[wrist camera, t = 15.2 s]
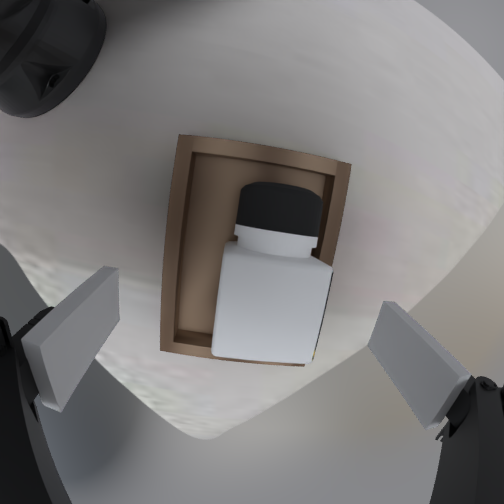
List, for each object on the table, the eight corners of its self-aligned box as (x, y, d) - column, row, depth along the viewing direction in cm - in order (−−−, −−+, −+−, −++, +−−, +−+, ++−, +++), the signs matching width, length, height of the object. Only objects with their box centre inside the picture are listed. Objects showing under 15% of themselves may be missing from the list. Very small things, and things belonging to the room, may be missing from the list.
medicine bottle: (313, 365, 18) (348, 191, 17) (210, 357, 18) (235, 170, 16) (292, 327, 26) (315, 197, 24) (215, 319, 25) (234, 183, 23)
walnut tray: (166, 334, 27) (160, 350, 24) (185, 139, 22) (178, 134, 19) (298, 349, 28) (304, 366, 25) (338, 165, 23) (351, 164, 21)
